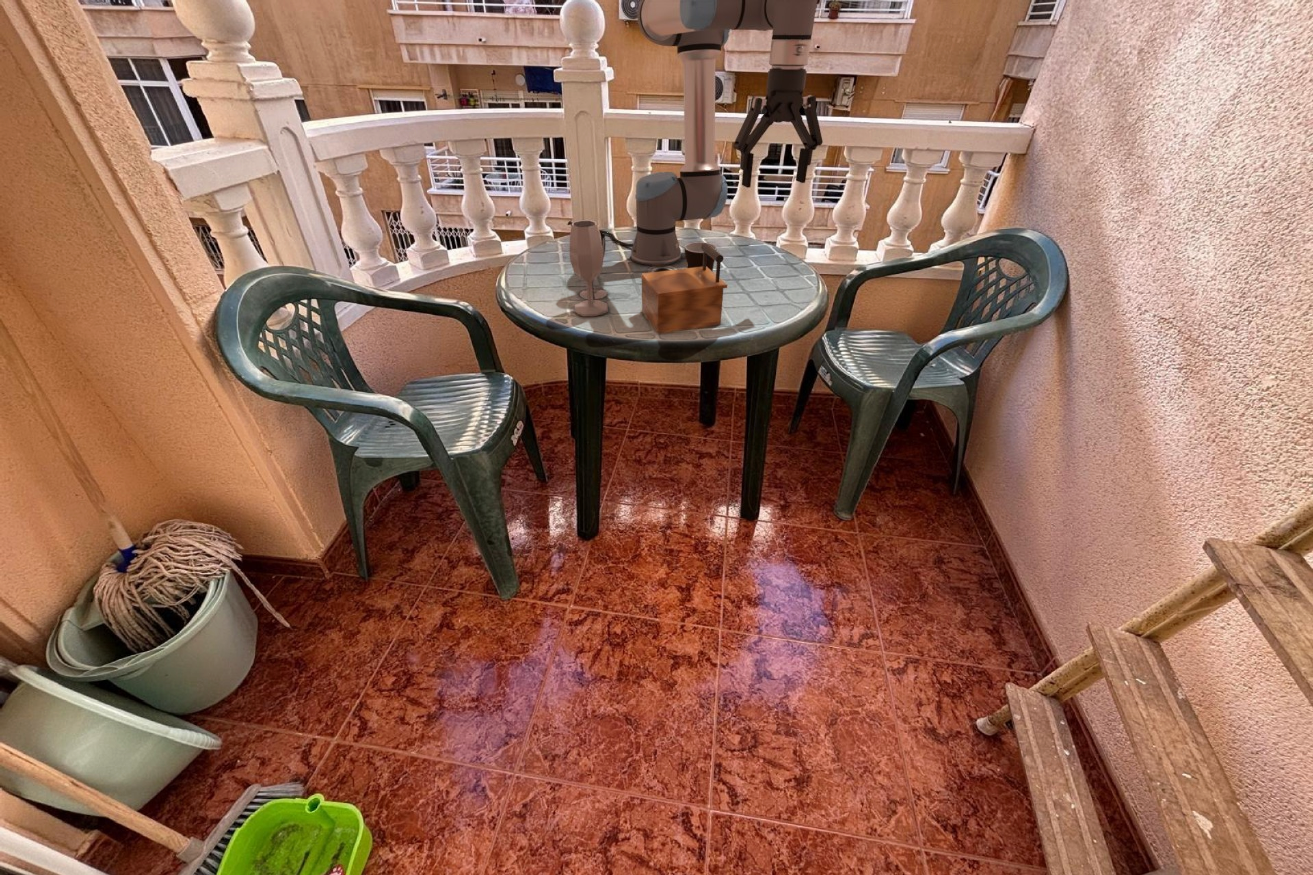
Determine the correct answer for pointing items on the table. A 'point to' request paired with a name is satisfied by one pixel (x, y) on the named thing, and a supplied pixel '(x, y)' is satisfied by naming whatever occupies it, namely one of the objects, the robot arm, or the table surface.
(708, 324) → the chest
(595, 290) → the wine glass
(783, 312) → the table surface
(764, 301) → the table surface
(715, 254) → the lid
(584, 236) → the wineglass
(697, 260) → the coffee mug
